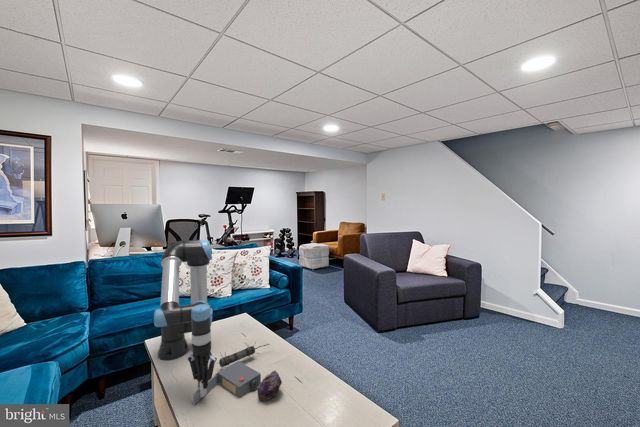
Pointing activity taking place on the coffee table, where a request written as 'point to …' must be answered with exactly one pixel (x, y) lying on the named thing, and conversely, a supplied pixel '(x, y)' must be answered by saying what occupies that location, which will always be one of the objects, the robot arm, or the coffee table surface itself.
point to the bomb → (237, 356)
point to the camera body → (239, 378)
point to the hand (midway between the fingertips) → (203, 395)
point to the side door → (211, 384)
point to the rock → (269, 386)
